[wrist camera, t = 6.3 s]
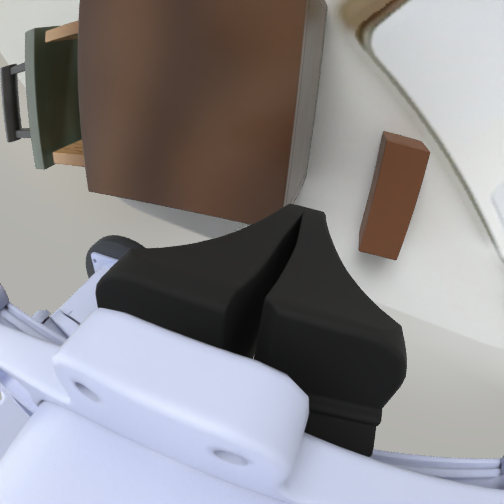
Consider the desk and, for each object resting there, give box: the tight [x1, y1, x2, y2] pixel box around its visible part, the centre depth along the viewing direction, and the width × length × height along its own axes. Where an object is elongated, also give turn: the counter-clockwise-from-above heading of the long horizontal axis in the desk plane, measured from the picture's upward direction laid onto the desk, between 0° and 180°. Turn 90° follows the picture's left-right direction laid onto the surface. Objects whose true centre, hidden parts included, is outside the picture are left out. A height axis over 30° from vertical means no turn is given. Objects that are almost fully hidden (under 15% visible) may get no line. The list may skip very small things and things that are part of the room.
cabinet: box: [78, 0, 327, 225], centre depth 15 cm, size 11×11×7 cm
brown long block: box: [359, 131, 430, 260], centre depth 18 cm, size 7×2×2 cm, turn 176°
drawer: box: [0, 21, 85, 169], centre depth 17 cm, size 14×10×6 cm
